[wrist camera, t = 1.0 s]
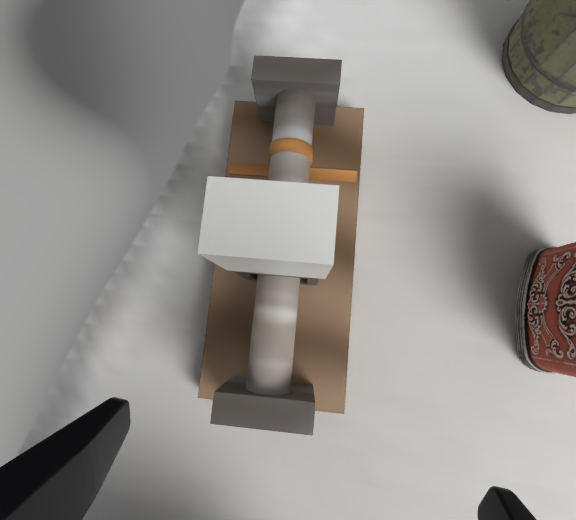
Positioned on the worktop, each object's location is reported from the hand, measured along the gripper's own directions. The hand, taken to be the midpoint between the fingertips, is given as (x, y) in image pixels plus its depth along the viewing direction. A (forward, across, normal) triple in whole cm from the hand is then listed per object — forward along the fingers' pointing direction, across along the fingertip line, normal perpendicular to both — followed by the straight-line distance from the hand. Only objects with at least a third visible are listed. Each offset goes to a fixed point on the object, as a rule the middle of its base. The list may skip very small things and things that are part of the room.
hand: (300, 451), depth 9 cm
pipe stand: (+16, +3, +2) cm, 17 cm away
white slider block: (+14, +3, +2) cm, 14 cm away
